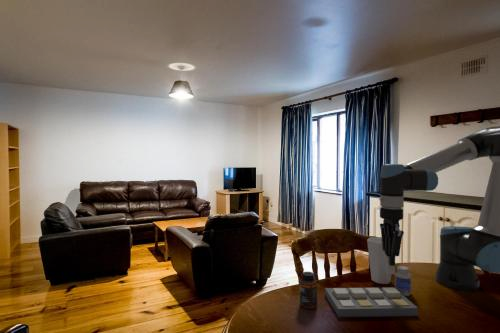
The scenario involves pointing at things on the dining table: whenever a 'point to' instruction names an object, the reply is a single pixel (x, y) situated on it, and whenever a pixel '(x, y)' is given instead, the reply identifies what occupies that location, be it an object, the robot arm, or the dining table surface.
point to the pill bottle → (403, 280)
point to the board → (371, 305)
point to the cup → (377, 261)
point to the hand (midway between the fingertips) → (390, 273)
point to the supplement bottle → (308, 291)
